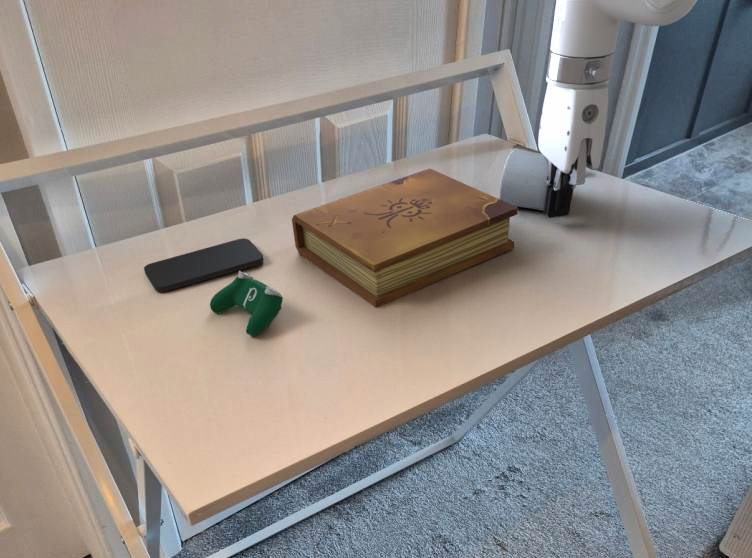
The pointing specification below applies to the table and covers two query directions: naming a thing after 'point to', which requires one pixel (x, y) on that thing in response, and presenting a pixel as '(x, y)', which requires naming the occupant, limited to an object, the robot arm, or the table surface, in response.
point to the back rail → (525, 148)
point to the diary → (403, 234)
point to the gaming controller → (249, 301)
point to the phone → (202, 264)
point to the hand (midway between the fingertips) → (555, 214)
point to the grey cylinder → (524, 179)
